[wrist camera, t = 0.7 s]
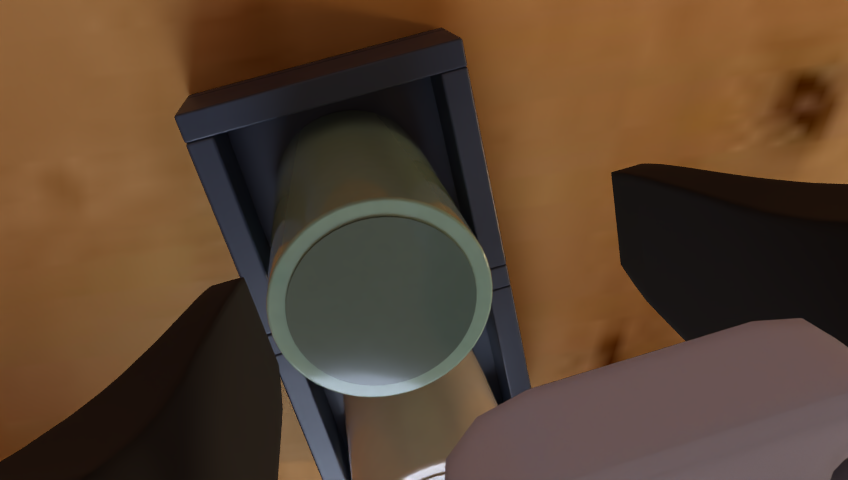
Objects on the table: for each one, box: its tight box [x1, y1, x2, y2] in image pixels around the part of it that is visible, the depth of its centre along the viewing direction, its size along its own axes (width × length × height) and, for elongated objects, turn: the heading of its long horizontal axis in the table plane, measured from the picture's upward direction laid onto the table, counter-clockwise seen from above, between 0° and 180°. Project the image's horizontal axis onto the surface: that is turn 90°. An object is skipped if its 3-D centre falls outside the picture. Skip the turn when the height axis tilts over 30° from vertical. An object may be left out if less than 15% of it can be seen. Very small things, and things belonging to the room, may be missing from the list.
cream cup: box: [342, 348, 498, 480], centre depth 21 cm, size 5×5×8 cm
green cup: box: [266, 110, 493, 397], centre depth 18 cm, size 5×5×8 cm
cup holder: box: [175, 28, 531, 480], centre depth 22 cm, size 15×8×3 cm, turn 13°
